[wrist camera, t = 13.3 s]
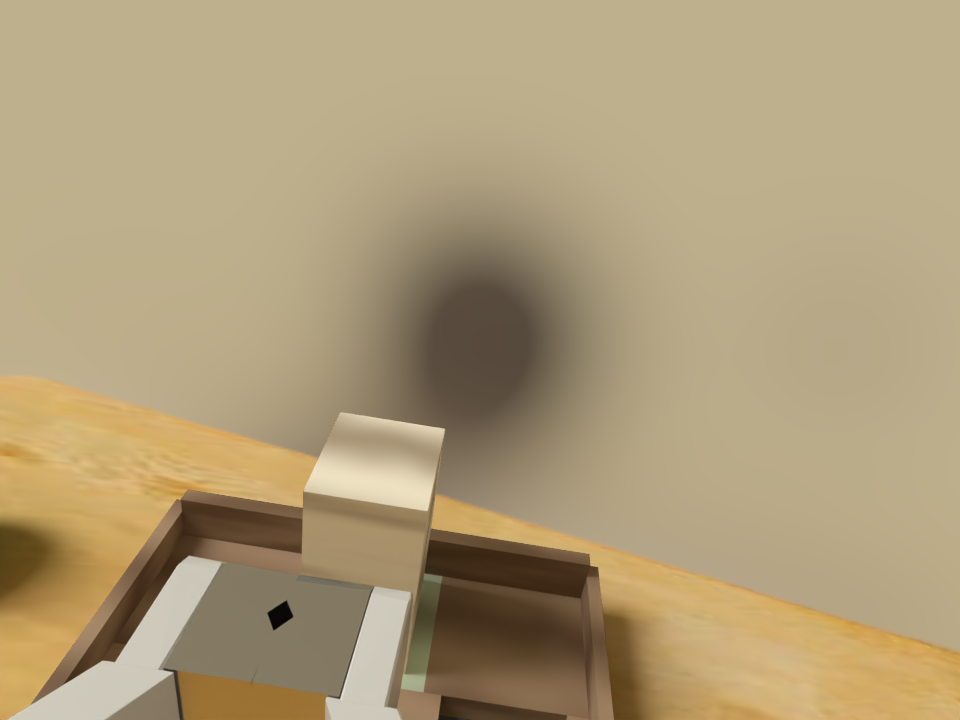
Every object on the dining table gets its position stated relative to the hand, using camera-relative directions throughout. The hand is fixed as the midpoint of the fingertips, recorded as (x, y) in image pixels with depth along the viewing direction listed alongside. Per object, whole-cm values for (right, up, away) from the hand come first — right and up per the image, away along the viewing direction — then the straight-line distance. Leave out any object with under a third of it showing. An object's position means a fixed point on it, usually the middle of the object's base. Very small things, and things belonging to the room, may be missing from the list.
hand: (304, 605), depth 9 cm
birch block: (-5, -12, +32) cm, 35 cm away
